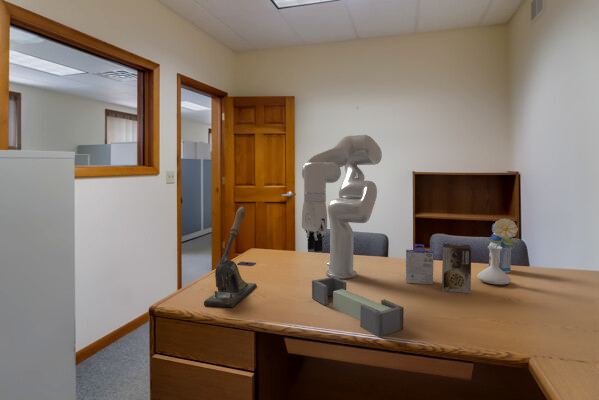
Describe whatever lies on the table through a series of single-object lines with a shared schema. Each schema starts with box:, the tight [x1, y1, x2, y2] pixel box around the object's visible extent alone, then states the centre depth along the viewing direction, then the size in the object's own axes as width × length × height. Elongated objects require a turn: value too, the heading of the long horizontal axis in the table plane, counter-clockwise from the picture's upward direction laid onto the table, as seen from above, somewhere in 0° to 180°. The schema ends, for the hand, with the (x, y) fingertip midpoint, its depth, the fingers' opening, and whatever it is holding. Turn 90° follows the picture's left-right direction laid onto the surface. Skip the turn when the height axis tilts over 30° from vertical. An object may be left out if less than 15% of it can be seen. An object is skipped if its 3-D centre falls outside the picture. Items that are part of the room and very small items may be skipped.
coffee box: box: [441, 243, 472, 294], centre depth 124 cm, size 9×6×16 cm
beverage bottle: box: [488, 223, 513, 274], centre depth 149 cm, size 8×8×20 cm
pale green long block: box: [332, 289, 392, 321], centre depth 101 cm, size 20×4×6 cm, turn 35°
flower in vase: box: [476, 218, 519, 286], centre depth 132 cm, size 13×11×25 cm
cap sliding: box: [311, 276, 347, 306], centre depth 115 cm, size 7×9×6 cm
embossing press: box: [203, 205, 257, 308], centre depth 119 cm, size 11×24×30 cm, turn 165°
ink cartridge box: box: [405, 243, 435, 285], centre depth 134 cm, size 10×6×14 cm, turn 78°
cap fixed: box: [359, 298, 405, 338], centre depth 94 cm, size 7×9×6 cm
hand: (314, 249), depth 122 cm, fingers open, 3 cm apart
